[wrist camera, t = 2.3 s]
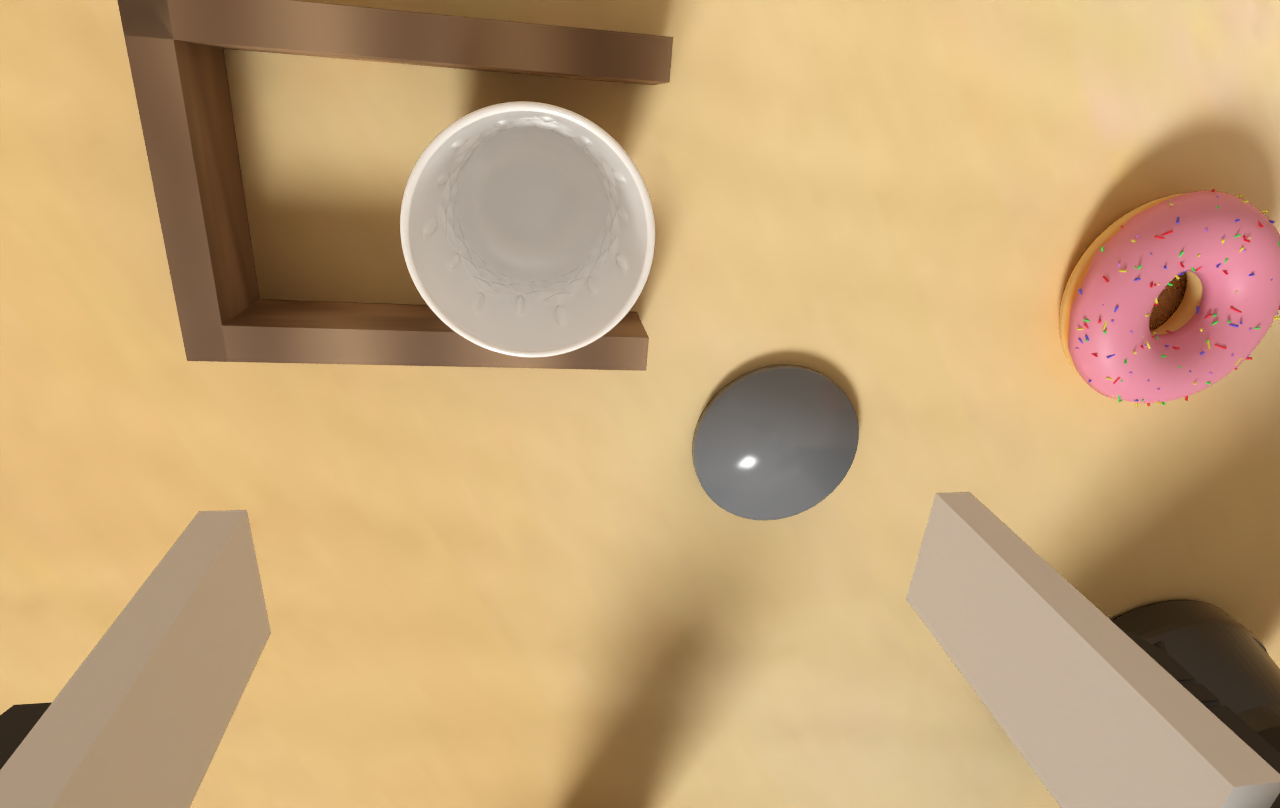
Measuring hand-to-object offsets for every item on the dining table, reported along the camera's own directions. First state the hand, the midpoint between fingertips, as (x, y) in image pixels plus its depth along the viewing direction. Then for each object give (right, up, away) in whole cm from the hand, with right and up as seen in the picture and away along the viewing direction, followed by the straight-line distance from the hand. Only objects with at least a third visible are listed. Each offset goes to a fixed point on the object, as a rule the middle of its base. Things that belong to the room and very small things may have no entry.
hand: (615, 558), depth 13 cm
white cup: (-4, +12, +17) cm, 22 cm away
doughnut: (+27, +9, +24) cm, 37 cm away
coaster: (+8, +1, +24) cm, 25 cm away
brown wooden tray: (-8, +12, +17) cm, 22 cm away
